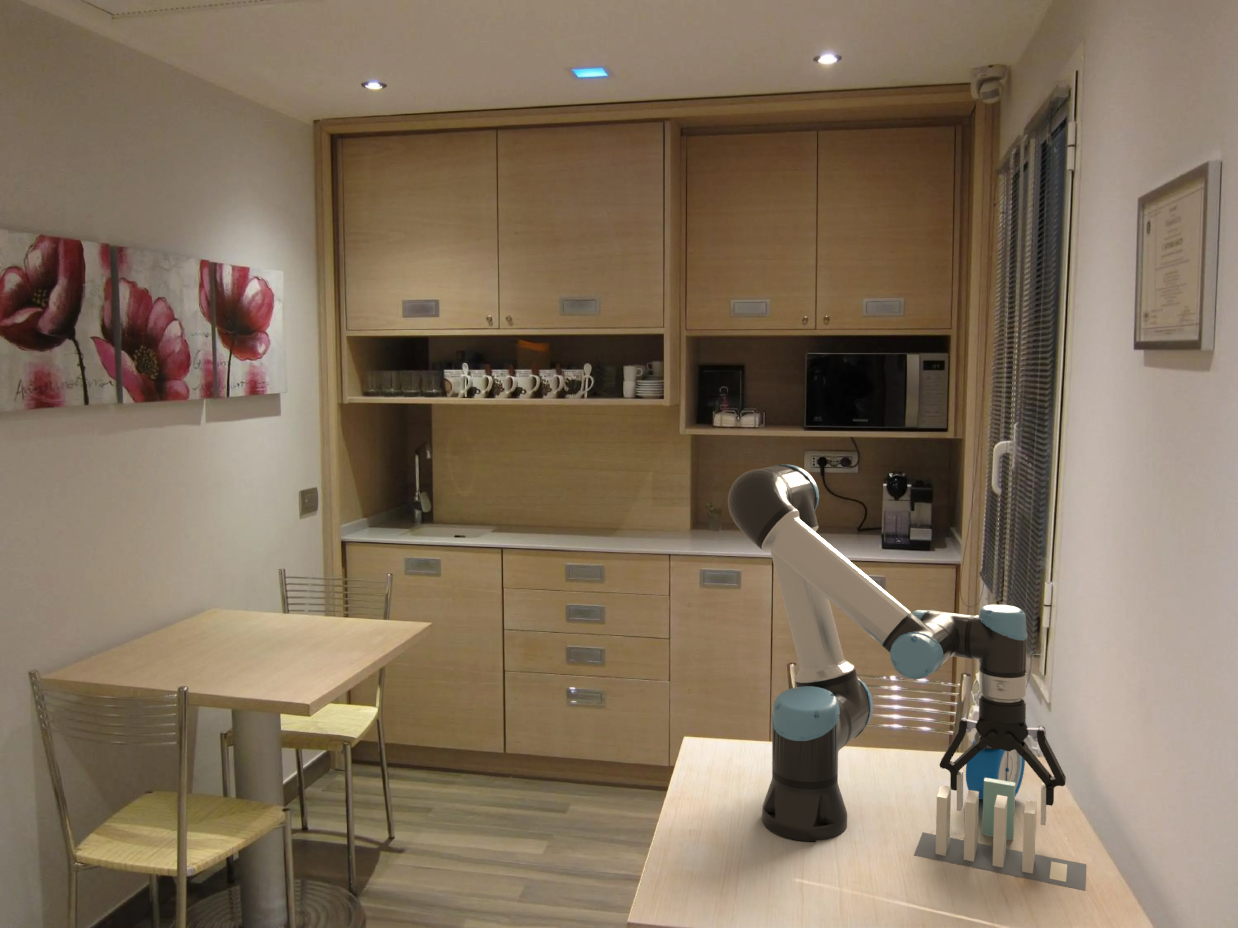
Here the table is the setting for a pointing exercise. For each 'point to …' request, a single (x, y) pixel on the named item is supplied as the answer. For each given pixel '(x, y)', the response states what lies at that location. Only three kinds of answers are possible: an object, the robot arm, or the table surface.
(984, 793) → the domino
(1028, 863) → the domino
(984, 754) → the alarm clock
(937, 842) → the domino
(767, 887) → the table surface
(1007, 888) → the table surface
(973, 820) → the domino
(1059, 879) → the mat
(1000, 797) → the domino
